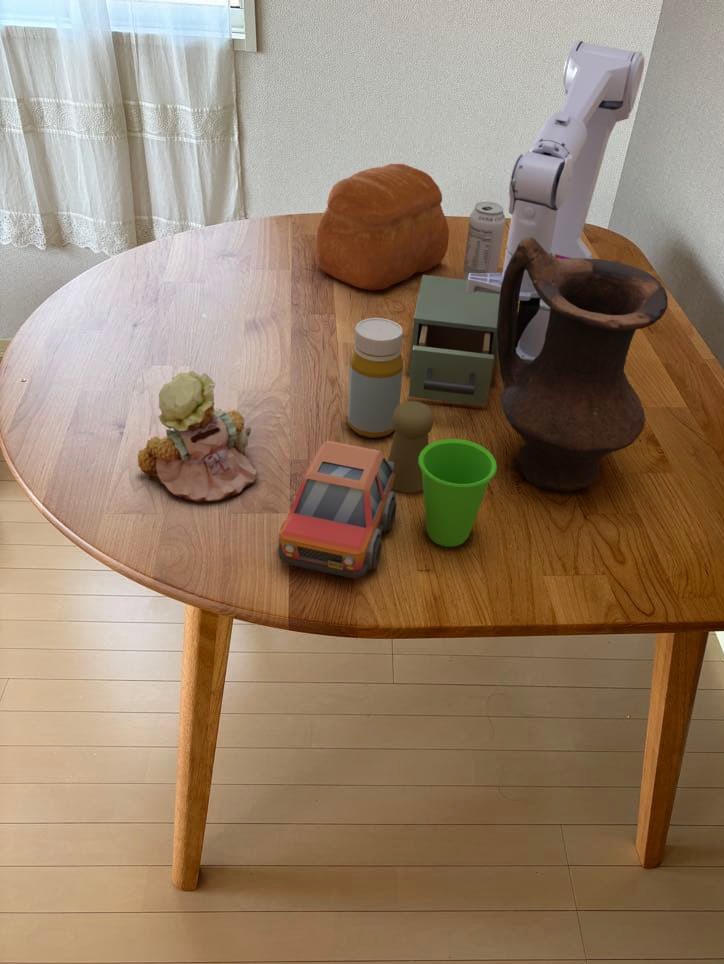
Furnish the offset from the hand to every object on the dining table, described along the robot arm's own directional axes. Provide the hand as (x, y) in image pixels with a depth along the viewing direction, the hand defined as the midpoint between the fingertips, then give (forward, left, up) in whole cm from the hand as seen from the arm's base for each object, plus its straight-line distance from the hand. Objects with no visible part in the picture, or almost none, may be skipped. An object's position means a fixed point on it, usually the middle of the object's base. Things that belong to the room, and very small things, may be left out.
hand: (512, 343), depth 127 cm
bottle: (+18, +9, -11) cm, 23 cm away
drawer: (+8, -3, -9) cm, 13 cm away
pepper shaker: (+12, +20, -11) cm, 26 cm away
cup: (+6, +30, -11) cm, 32 cm away
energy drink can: (+5, -37, -11) cm, 39 cm away
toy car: (+19, +33, -11) cm, 40 cm away
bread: (+23, -42, -11) cm, 49 cm away
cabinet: (+8, -13, -10) cm, 18 cm away
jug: (-7, +13, -11) cm, 18 cm away
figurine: (+38, +24, -11) cm, 46 cm away
